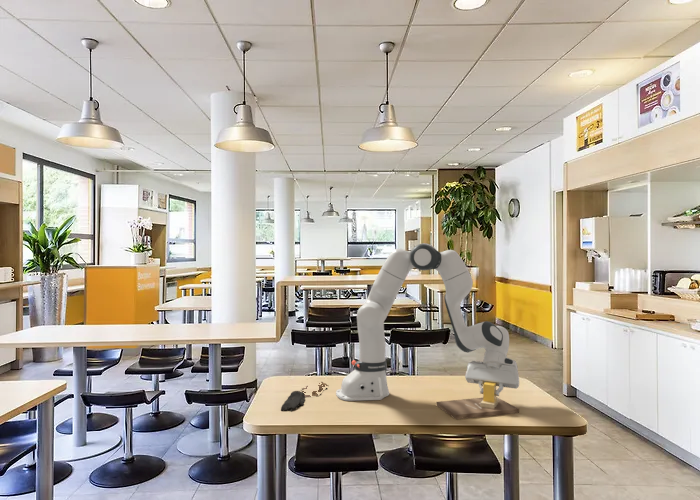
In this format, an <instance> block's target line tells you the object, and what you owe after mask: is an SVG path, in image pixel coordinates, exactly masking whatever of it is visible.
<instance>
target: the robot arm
mask: <svg viewBox="0 0 700 500" xmlns="http://www.w3.org/2000/svg"><path fill="white" fill-rule="evenodd" d="M414 268H415V269H417V270H419V271H430V270H436V272H437V273H439V275H440V278H441V279H442V280H441V281H442V282H443V284H444V286H445V294H444V300H443V301H444V303H445V308H446V311H447V313H448V317H449V321H450V324H451V327H452V330H453V335H454V340H455V341H454V342H455V344H456V346H457V347H458V348H459V350H461V351H462V352H464V353H471V352H473V351H477V350H479V349H485V352H484V355H483V361H475V360H472V361H470V362H468V363H467V366H466V372H465V375H464V377H465V381H466V382H467V383H469V384H476V385H477V384H478V386H479V393H480V395H483V384H484V383H485V382H491V383H496V387H498V388H496V390H495V393H494V394H495V396H496V397H499V396H500V393H501V392H502V391H503V390H504V388H508V389H518V388H520V387H519V386H520V376H519V370H518V363H517V362H516V360H514V359H512V358H509V357H508V356H507V354H508V352H509V347H510V334H509V331H508V329H506V327H503V326H501V325H495V324H494V323H493V322H490V321H487V320H486V321H482V322H478V323H476V324H472V325H470V326H468V325H466V321H465V320H464V316H463V312H462V309H461V304H462V302H463V300H464V299H465V298H466V297H467V296H468V295H469V294H470V292H471V291H472V289H473V277H472V275H471V274H470V271H469V269H468V267H467V265H466V264H465V262H464V260H463V259H462V258H461V256H460V255H459V253H458V252H457V251H456V250H453V249H447V250H444V251H438V250H437V249H436V248H435V247H434V246H433V245H432V244H430V243H427V242H426V243H423V242H422V243H419V244H417V245H416V246H414V247H413V248H412V249H411V250H409V251H408V250H405V249H403V248H395V249H393V250H392V251H391V252H390V254H389V255H388V256H387V258H386V260H385V261H384V262H383V264H382V266H381V268H380V270H379V271H378V274H377V276H376V277H375V279H374V282H373V284H372V285H371V289H370V291H369V294H368V296H367V299H366V300H365V302H364V304H362V305H360V307H359V308H358V310H357V312H356V323H357V324H356V325H357V333H358V334H357V335H358V341H359V342H358V343H359V344H358V345H359V346H358V349H359V351H358V352H359V353H358V355H359V357H358V358H359V359H358V360H357V361H356V360H355V359H353V360H352V361H351V365H353V366H354V369H353V370H352V371H351V372H350V373H349V374H348V375H346V376H344V377H343V379H342V382H341V388H339V389H336V391H335V394H336V397H337V398H338V399H340V400H341V401H345V402H348V401H350V402H351V401H352V402H353V401H355V402H356V401H379V400H380V401H381V400H383V399H384V398H385V397H389V396H390V391H389V386H388V381H387V371H388V366H387V365H388V364H387V359H386V337H385V324H384V322H385V320H386V319H387V317H388V315H389V313H390V311H391V309H392V306H393V305H394V302H395V301H396V298H397V296H398V294H399V293H400V290H401V288H402V286H403V284H404V282H405V280H406V279H407V276H408V274H409V273H410V271H411V270H412V269H414Z"/></svg>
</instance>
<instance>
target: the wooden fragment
mask: <svg viewBox="0 0 700 500" xmlns="http://www.w3.org/2000/svg"><path fill="white" fill-rule="evenodd" d="M320 382H321V383H322V384H321V385H318V386H319V390H318V392H321V391H322V390H323V388H322V387H325V385H326V386H328V387H329V384H327V383H325V382H323V381H320ZM319 384H320V383H319ZM322 385H323V386H322ZM305 387H306V388H304V387H301V389H302V390H303V389H307V387H308V385H306V386H305ZM323 391H324V390H323ZM301 392H304V391H301ZM316 392H317V391H313V392H312V396H316V397H319V396H318V394H317V393H316ZM304 393H306V392H304ZM304 395H305V394H304ZM305 398H312V397H311V396H310V395H305Z"/></svg>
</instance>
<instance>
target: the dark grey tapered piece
mask: <svg viewBox="0 0 700 500" xmlns="http://www.w3.org/2000/svg"><path fill="white" fill-rule="evenodd" d="M305 402H306V397H305V395H304V393H303V392H302V391H301V390H294V391H292V392H291V393H290V394H289V396H288V397H287V398H286V400H285V401H284V403H283V404H282V405H281V407H280V411H281V412H288V411H290V412H294V411H296V410H297V408H299V406H301V407H302V406H304V405H305Z"/></svg>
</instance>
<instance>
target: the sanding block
mask: <svg viewBox="0 0 700 500" xmlns="http://www.w3.org/2000/svg"><path fill="white" fill-rule="evenodd" d="M482 388H483V394H482V395H483V396H482V398H483V400H482V402H481V407H484V408H491V409H494V408H495V407H496V405H497V404H498V403H499V399H500V397H497V396H495V394H494V393H495V390H497V386H496V383H491V382H485V383H484V384H483V386H482ZM496 397H497V398H496Z"/></svg>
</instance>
